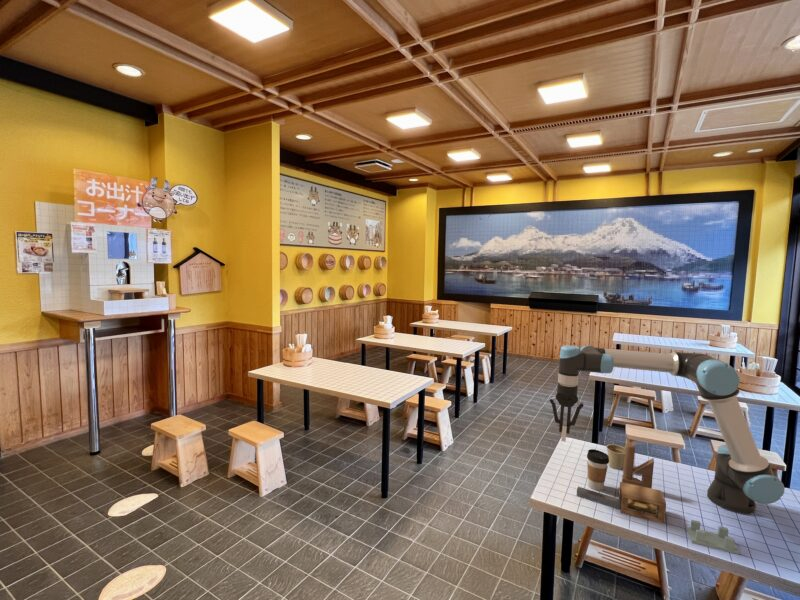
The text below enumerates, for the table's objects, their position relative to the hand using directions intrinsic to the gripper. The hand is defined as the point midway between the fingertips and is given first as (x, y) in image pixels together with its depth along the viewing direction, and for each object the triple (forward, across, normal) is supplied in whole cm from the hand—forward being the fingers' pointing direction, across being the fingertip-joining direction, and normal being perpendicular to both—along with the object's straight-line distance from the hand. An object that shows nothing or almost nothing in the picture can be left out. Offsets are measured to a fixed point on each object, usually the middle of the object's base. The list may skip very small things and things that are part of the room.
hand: (563, 440), depth 163 cm
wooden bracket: (+23, -30, -18) cm, 42 cm away
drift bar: (+23, -15, 0) cm, 27 cm away
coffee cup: (+23, -14, -11) cm, 29 cm away
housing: (+22, -29, 0) cm, 37 cm away
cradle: (+22, -49, +9) cm, 55 cm away
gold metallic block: (+20, -29, -1) cm, 35 cm away
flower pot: (+23, -24, -35) cm, 48 cm away
